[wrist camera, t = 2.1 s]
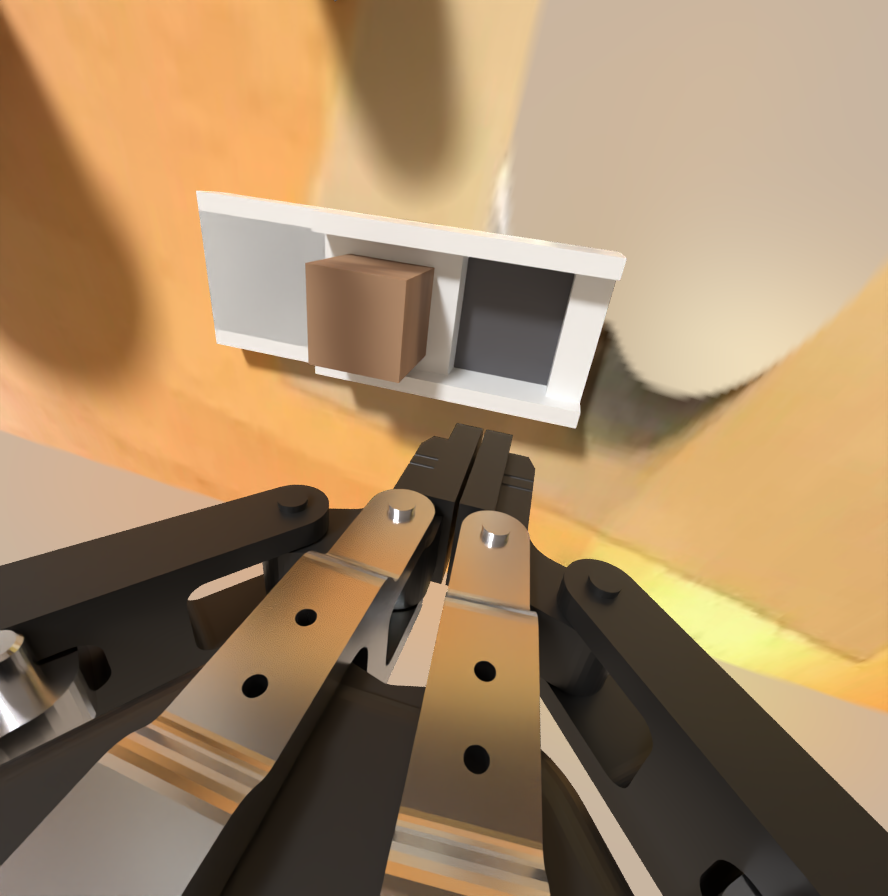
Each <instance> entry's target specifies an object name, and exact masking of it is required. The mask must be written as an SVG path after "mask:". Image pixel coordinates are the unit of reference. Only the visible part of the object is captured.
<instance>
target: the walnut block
mask: <svg viewBox="0 0 888 896" xmlns="http://www.w3.org/2000/svg"><path fill="white" fill-rule="evenodd" d="M434 269H435V268H433V267H427V266H421V265H415V264H409V263H403V262H397V261H391V260H385V259H379V258H373V257H367V256H361V255H355V254H345V255H341V256H336V257H331V258H327V259H322V260H317V261H312V262H308V263H305V274H306V304H307V334H308V364H309V365H314V366H318V367H323V368H328V369H333V370H338V371H342V372H347V373H352V374H357V375H362V376H366V377H371V378H376V379H381V380H386V381H390V382H395V383H400V381H401V380H402V379H403V378H404V377H405V376H406V375H407V374H408V373H409V372H410V371H411V370H412V369H413V368H414V367H415V366H416V365H417V364H418V363H419V362H420V361H421V360H422V359H423V358H424V357H425V356H426V347H427V337H428V327H429V317H430V308H431V298H432V288H433V278H434Z"/></svg>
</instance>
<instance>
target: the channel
mask: <svg viewBox="0 0 888 896" xmlns="http://www.w3.org/2000/svg"><path fill="white" fill-rule="evenodd" d="M196 194H197V201H198V208H199V216H200V223H201V230H202V238H203V245H204V252H205V260H206V267H207V274H208V282H209V289H210V296H211V304H212V311H213V318H214V326H215V333H216V341H217V344H222V345H227V346H231V347H236V348H241V349H246V350H251V351H256V352H260V353H265V354H270V355H275V356H280V357H284V358H289V359H294V360H299V361H304V362H308V334H307V304H306V274H305V263H308V262H312V261H317V260H322V259H327V258H331V257H336V256H341V255H345V254H355V255H361V256H367V257H373V258H379V259H385V260H391V261H397V262H403V263H409V264H415V265H421V266H427V267H433V268H435V269H434V278H433V288H432V298H431V308H430V317H429V327H428V337H427V347H426V356H425V357H424V358H423V359H422V360H421V361H420V362H419V363H418V364H417V365H416V366H415V367H414V368H413V369H412V370H411V371H410V372H409V373H408V374H407V375H406V376H405V377H404V378H403V379H402V380H401V381H400V383H395V382H390V381H386V380H381V379H376V378H371V377H366V376H362V375H357V374H352V373H347V372H342V371H338V370H333V369H328V368H323V367H318V366H315V374H320V375H324V376H329V377H334V378H339V379H343V380H348V381H353V382H358V383H362V384H367V385H372V386H376V387H381V388H386V389H391V390H395V391H400V392H405V393H410V394H414V395H419V396H424V397H429V398H433V399H438V400H443V401H447V402H452V403H457V404H462V405H466V406H471V407H476V408H481V409H485V410H490V411H495V412H500V413H504V414H509V415H514V416H519V417H523V418H528V419H533V420H537V421H542V422H547V423H552V424H556V425H561V426H566V427H571V428H575V429H576V426H577V423H578V419H579V416H580V400H581V397H582V394H583V390H584V387H585V384H586V380H587V377H588V373H589V370H590V367H591V363H592V360H593V357H594V353H595V350H596V346H597V343H598V340H599V336H600V333H601V329H602V326H603V323H604V319H605V316H606V313H607V309H608V305H609V302H610V299H611V296H612V292H613V289H614V285H615V282H616V280H619V281H620V279H621V276H622V273H623V269H624V266H625V263H626V257H625V256H624V255H622V254H621V253H620V252H616V251H610V250H603V249H596V248H590V247H583V246H577V245H570V244H563V243H556V242H549V241H543V240H537V239H530V238H523V237H517V236H510V235H503V234H497V233H490V232H483V231H477V230H470V229H464V228H457V227H450V226H444V225H437V224H430V223H424V222H417V221H410V220H404V219H397V218H390V217H384V216H377V215H370V214H364V213H357V212H351V211H344V210H337V209H331V208H324V207H317V206H311V205H304V204H297V203H291V202H284V201H277V200H271V199H264V198H257V197H251V196H244V195H237V194H231V193H224V192H213V191H196Z"/></svg>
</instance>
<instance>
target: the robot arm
mask: <svg viewBox="0 0 888 896" xmlns="http://www.w3.org/2000/svg"><path fill="white" fill-rule="evenodd" d="M482 437H483V429H482V428H477V427H473V426H468V425H463V424H459V423H457V424H456V426H455V428H454V430H453V432H452V434H451V436H450V438H449V439H445V438H440V437H436V436H434V437H432V438H430V439H428V440H427V441H425V442H423V443H421V445H420V447H419V448H418V450H417V451H416V453H415V455H414V456H413V458H412V459H411V461H410V464H408V466H407V468H406V469H405V471H404V472H403V474H402V476H401V477H400V479H399V480H398V482H397V484H396V485H395V487H394V489H391V490H386V491H383V492H381V493H379V494H377V495H375V496H374V497H373V498H372V499H371V500H370V501H369V503H368V504H367V505H366V506H365V507H364V508H362V509H329V501H328V498H327V496H326V495H325V494H324V493H323V492H322V491H320V490H319V489H316V488H314V487H310V486H305V485H288V486H283V487H279V488H275V489H272V490H268V491H265V492H261V493H257V494H254V495H250V496H247V497H243V498H240V499H236V500H233V501H229V502H225V503H222V504H218V505H215V506H211V507H208V508H204V509H201V510H197V511H194V512H190V513H187V514H183V515H179V516H176V517H172V518H169V519H165V520H162V521H158V522H155V523H151V524H147V525H144V526H141V527H137V528H133V529H130V530H126V531H122V532H119V533H116V534H112V535H109V536H105V537H101V538H98V539H94V540H91V541H87V542H83V543H80V544H76V545H73V546H69V547H66V548H62V549H59V550H55V551H52V552H48V553H45V554H41V555H38V556H34V557H30V558H27V559H23V560H20V561H16V562H12V563H9V564H5V565H2V566H0V896H634V894H633V893H632V891H631V889H630V887H629V885H628V883H627V882H626V880H625V878H624V876H623V874H622V873H621V871H620V869H619V867H618V865H617V864H616V862H615V860H614V858H613V857H612V854H611V853H610V851H609V849H608V847H607V845H606V843H605V842H604V840H603V838H602V836H601V834H600V833H599V831H598V829H597V827H596V825H595V823H594V822H593V820H592V818H591V816H590V815H589V813H588V811H587V809H586V807H585V805H584V804H583V802H582V800H581V799H580V797H579V795H578V793H577V792H576V790H575V789H574V788H573V786H572V785H571V783H570V782H569V781H568V779H567V778H566V776H565V775H564V774H563V772H562V771H561V770H560V769H559V768H558V767H557V765H556V764H555V763H554V762H553V761H552V760H551V758H549V757H548V756H547V755H546V754H545V753H544V752H543V751H542V750H541V738H540V737H541V735H540V697H541V699H542V700H543V702H544V704H545V705H546V707H547V708H548V710H549V711H550V713H551V715H552V716H553V718H554V720H555V721H556V723H557V725H558V726H559V728H560V729H561V731H562V733H563V734H564V736H565V737H566V739H567V741H568V742H569V744H570V746H571V747H572V749H573V751H574V752H575V754H576V755H577V757H578V759H579V760H580V762H581V764H582V765H583V767H584V768H585V770H586V771H587V773H588V775H589V777H590V778H591V780H592V781H593V783H594V785H595V786H596V788H597V789H598V791H599V793H600V794H601V796H602V797H603V799H604V801H605V802H606V804H607V806H608V807H609V809H610V811H611V812H612V814H613V815H614V817H615V818H616V820H617V822H618V823H619V825H620V827H621V828H622V830H623V832H624V833H625V835H626V836H627V838H628V840H629V841H630V843H631V845H632V846H633V848H634V849H635V851H636V853H637V854H638V856H639V858H640V859H641V861H642V862H643V864H644V866H645V867H646V869H647V870H648V872H649V874H650V875H651V877H652V879H653V880H654V882H655V883H656V885H657V887H658V888H659V890H660V891H661V893H662V895H663V896H888V832H887V831H886V830H885V829H884V828H883V827H882V826H881V825H880V824H879V823H878V822H877V821H876V820H874V818H873V817H872V816H871V815H870V814H868V813H867V811H866V810H865V809H864V808H863V807H862V806H860V805H859V804H858V803H857V802H856V801H855V800H854V799H853V798H852V797H851V796H850V795H849V794H848V793H847V792H846V791H845V790H844V789H843V788H842V787H841V786H840V785H839V784H838V783H837V782H836V781H835V780H834V779H833V778H832V777H831V776H830V775H829V774H828V773H827V772H826V771H825V770H824V769H823V768H822V767H821V766H820V765H819V764H818V763H817V762H816V761H815V760H814V759H813V758H812V757H811V756H810V755H809V754H808V753H807V752H806V751H805V750H804V749H803V748H802V747H801V746H800V745H799V744H798V743H797V742H796V741H795V740H794V739H793V738H792V737H791V736H790V735H789V734H788V733H787V732H786V731H785V730H784V729H783V728H782V727H781V726H780V725H779V724H778V723H777V722H776V721H775V720H774V719H773V718H772V717H771V716H770V715H769V714H768V713H767V712H766V711H765V710H764V709H763V708H762V707H761V706H760V705H759V704H758V703H757V702H756V701H755V700H754V699H753V698H752V697H751V696H750V695H749V694H747V692H746V691H745V690H744V689H743V688H742V687H741V686H740V685H739V684H738V683H736V681H735V680H734V679H733V678H731V676H729V675H728V674H727V673H726V672H725V671H724V670H723V669H722V668H721V667H720V666H719V665H718V664H717V663H716V662H715V661H714V660H713V659H712V658H711V657H710V656H709V655H708V654H707V653H706V652H705V651H704V650H703V649H702V648H701V647H700V646H699V645H698V644H697V643H696V642H695V641H694V640H693V639H692V638H691V637H690V636H689V635H688V634H687V633H686V632H685V631H684V630H683V629H682V628H681V627H680V626H679V625H678V624H677V623H676V622H675V621H674V620H673V619H672V618H671V617H670V616H669V615H668V614H667V613H666V612H665V611H664V610H663V609H662V608H661V607H660V606H659V605H658V604H657V603H656V602H655V601H654V600H653V599H652V598H651V597H650V596H649V595H648V594H647V593H646V592H645V591H644V590H643V589H642V588H641V587H640V586H639V585H638V584H637V583H636V582H635V581H634V580H633V579H632V578H631V577H630V576H628V575H627V574H626V573H625V572H623V571H622V570H621V569H619V568H617V567H615V566H613V565H611V564H609V563H606V562H603V561H599V560H594V559H582V560H577V561H574V562H573V563H571V564H570V565H569V566H568V567H567V568H566V567H564V566H562V565H560V564H558V563H556V562H555V561H553V560H551V559H549V558H547V557H546V556H545V555H543V554H542V553H541V552H540V551H539V550H537V548H536V547H535V546H534V545H533V543H532V542H531V540H530V537H529V533H528V523H529V515H530V507H531V499H532V491H533V482H534V475H535V468H534V466H533V464H532V462H531V461H530V459H529V457H525V456H521V455H516V454H512V453H509V451H510V446H511V442H512V437H513V435H510V434H505V433H500V432H496V431H491V430H486V432H485V435H484V438H483V440H482ZM481 442H482V443H481ZM449 559H450V562H449ZM262 562H263V571H264V574H263V575H260V576H258V577H255V578H252V579H250V580H247V581H244V582H242V583H239V584H237V585H234V586H232V587H229V588H226V589H224V590H222V591H219V592H216V593H214V594H211V595H208V596H206V597H203V598H201V599H198V600H191V601H189V600H188V597H189V596H190V594H191V593H192V592H193V591H194V590H195V589H197V588H198V587H199V586H201V585H203V584H205V583H207V582H210V581H213V580H216V579H218V578H221V577H224V576H227V575H229V574H232V573H235V572H237V571H240V570H242V569H245V568H248V567H251V566H253V565H256V564H259V563H262ZM448 562H449V567H448V573H447V579H446V585H447V586H448V591H447V593H446V596H445V600H444V605H443V610H442V615H441V619H440V624H439V628H438V633H437V638H436V642H435V647H434V652H433V656H432V661H431V666H430V670H429V675H428V680H427V685H426V687H416V686H415V687H414V686H396V685H389V684H387V682H388V679H389V677H390V675H391V672H392V670H393V668H394V666H395V664H396V662H397V660H398V657H399V655H400V653H401V651H402V649H403V646H404V645H405V642H406V640H407V638H408V636H409V634H410V632H411V630H412V627H413V625H414V623H415V621H416V619H417V617H418V615H419V612H420V610H421V607H422V601H423V598H424V596H425V594H426V592H427V589H428V587H429V584H430V581H432V582H436V583H440V584H441V583H442V580H443V577H444V574H445V571H446V568H447V565H448Z"/></svg>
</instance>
